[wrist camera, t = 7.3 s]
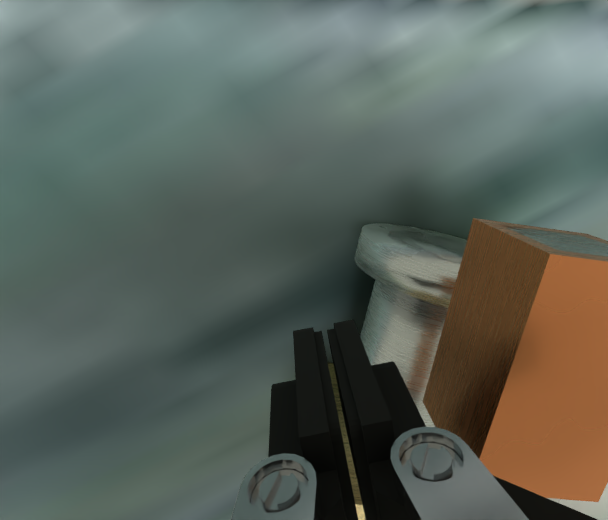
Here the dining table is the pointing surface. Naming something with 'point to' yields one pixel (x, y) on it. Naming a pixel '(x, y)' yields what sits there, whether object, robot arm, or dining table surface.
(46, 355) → the dining table surface
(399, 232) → the valve pipe
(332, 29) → the dining table surface
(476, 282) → the valve lever
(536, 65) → the dining table surface
